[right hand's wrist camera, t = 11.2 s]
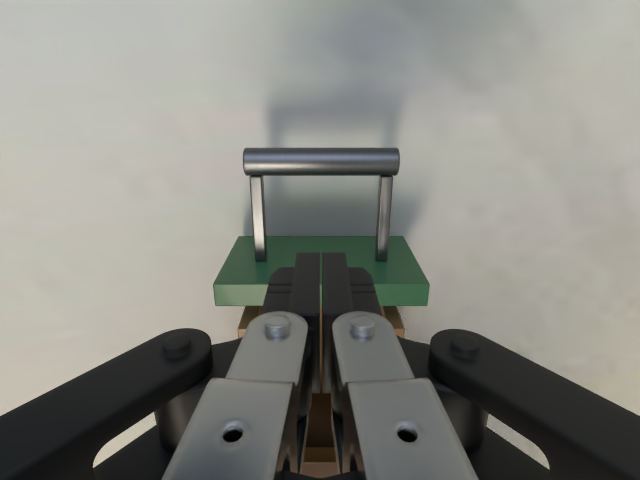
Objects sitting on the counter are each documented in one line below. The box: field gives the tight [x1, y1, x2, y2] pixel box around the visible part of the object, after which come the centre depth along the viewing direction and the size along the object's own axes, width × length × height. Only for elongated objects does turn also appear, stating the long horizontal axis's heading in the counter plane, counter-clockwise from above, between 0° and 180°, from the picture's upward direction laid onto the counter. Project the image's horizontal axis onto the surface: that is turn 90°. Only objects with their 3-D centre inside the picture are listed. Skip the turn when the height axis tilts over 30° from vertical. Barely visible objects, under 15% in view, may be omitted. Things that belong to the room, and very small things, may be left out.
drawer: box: [213, 148, 430, 447], centre depth 24 cm, size 25×10×6 cm, turn 0°
